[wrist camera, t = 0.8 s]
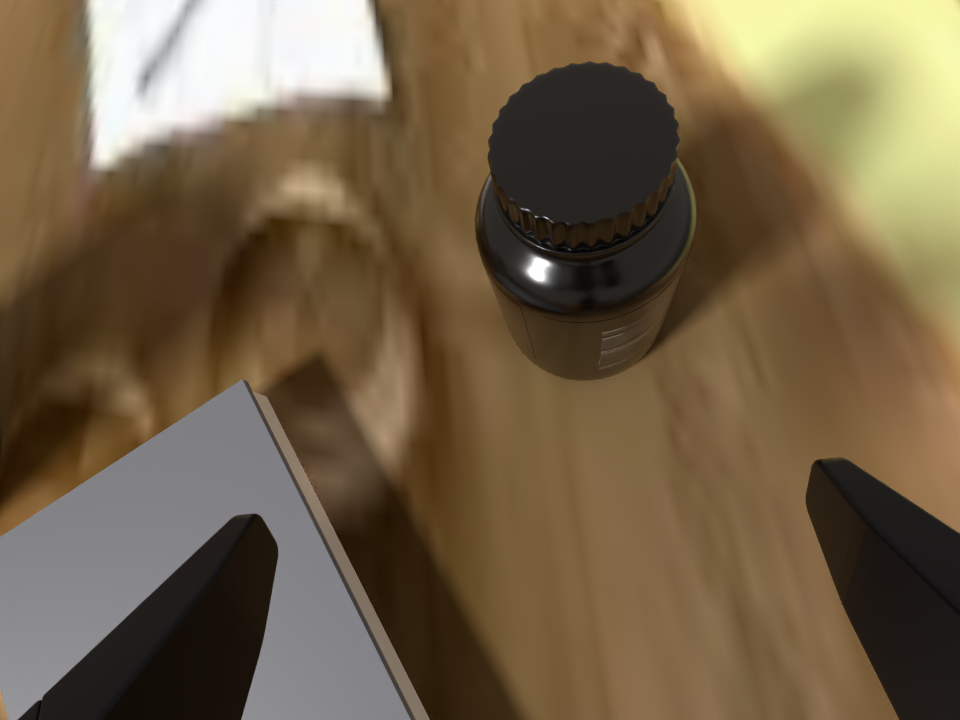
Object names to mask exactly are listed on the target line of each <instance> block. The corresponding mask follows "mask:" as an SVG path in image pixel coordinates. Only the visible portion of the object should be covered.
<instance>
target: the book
mask: <svg viewBox="0 0 960 720" xmlns="http://www.w3.org/2000/svg"><path fill="white" fill-rule="evenodd" d="M253 513H255V514H258V515H260V516H261V517H262V518H263V520H264V521H265V523H266V525H267V527H268V528H269V530H270V532H271V533H272V535H273V537H274V539H275V540H276V542H277V545H278V561H277V567H276V572H275V578H274V584H273V590H272V595H271V601H270V607H269V612H268V618H267V624H266V629H265V634H264V639H263V644H262V647H261V651H260V655H259V659H258V662H257V666H256V670H255V673H254V677H253V680H252V684H251V687H250V691H249V694H248V698H247V701H246V705H245V708H244V712H243V716H242V719H241V720H430V719H429V717H428V715H427V713H426V711H425V709H424V707H423V705H422V703H421V701H420V699H419V697H418V695H417V693H416V691H415V689H414V687H413V685H412V683H411V681H410V679H409V677H408V675H407V673H406V671H405V669H404V668H403V666H402V664H401V662H400V660H399V658H398V656H397V654H396V652H395V650H394V648H393V646H392V644H391V642H390V640H389V638H388V636H387V634H386V632H385V630H384V628H383V626H382V624H381V622H380V620H379V618H378V616H377V614H376V612H375V610H374V608H373V606H372V604H371V602H370V600H369V598H368V596H367V594H366V592H365V590H364V588H363V586H362V584H361V582H360V580H359V578H358V576H357V574H356V572H355V570H354V568H353V566H352V565H351V563H350V561H349V559H348V557H347V555H346V553H345V551H344V549H343V547H342V545H341V543H340V541H339V539H338V537H337V535H336V533H335V531H334V529H333V527H332V525H331V523H330V521H329V519H328V517H327V515H326V513H325V511H324V509H323V507H322V505H321V503H320V501H319V499H318V497H317V495H316V493H315V491H314V489H313V487H312V485H311V483H310V481H309V479H308V477H307V475H306V473H305V471H304V469H303V467H302V465H301V463H300V461H299V460H298V458H297V456H296V454H295V452H294V450H293V448H292V446H291V444H290V442H289V440H288V438H287V436H286V434H285V432H284V430H283V428H282V426H281V424H280V422H279V420H278V418H277V416H276V414H275V412H274V410H273V408H272V406H271V404H270V402H269V400H268V398H267V397H266V396H263V395H261V394H258V393H256V392H253V391H252V390H251V388H250V386H249V384H248V382H247V381H245V380H243V379H242V380H241V381H239V382H238V383H236V384H234V385H233V386H231V387H230V388H228V389H227V390H225V391H224V392H222V393H221V394H219V395H218V396H216V397H215V398H213V399H211V400H210V401H208V402H207V403H205V404H204V405H202V406H201V407H199V408H198V409H196V410H195V411H193V412H191V413H190V414H188V415H187V416H185V417H184V418H182V419H181V420H179V421H178V422H176V423H175V424H173V425H172V426H170V427H168V428H167V429H165V430H164V431H162V432H161V433H159V434H158V435H156V436H155V437H153V438H152V439H150V440H148V441H147V442H145V443H144V444H142V445H141V446H139V447H138V448H136V449H135V450H133V451H132V452H130V453H129V454H127V455H125V456H124V457H122V458H121V459H119V460H118V461H116V462H115V463H113V464H112V465H110V466H109V467H107V468H106V469H104V470H102V471H101V472H99V473H98V474H96V475H95V476H93V477H92V478H90V479H89V480H87V481H86V482H84V483H82V484H81V485H79V486H78V487H76V488H75V489H73V490H72V491H70V492H69V493H67V494H66V495H64V496H63V497H61V498H59V499H58V500H56V501H55V502H53V503H52V504H50V505H49V506H47V507H46V508H44V509H43V510H41V511H39V512H38V513H36V514H35V515H33V516H32V517H30V518H29V519H27V520H26V521H24V522H23V523H21V524H20V525H18V526H16V527H15V528H13V529H12V530H10V531H9V532H7V533H6V534H4V535H3V536H1V537H0V690H1V693H2V697H3V700H4V704H5V708H6V711H7V715H8V718H9V720H18V719H19V718H20V717H21V716H22V715H23V714H24V713H25V712H26V711H27V710H28V709H29V708H30V707H31V706H32V705H33V704H35V703H36V702H37V701H38V700H42V697H43V695H44V694H45V693H46V692H47V691H48V690H50V689H51V688H52V687H53V686H54V685H55V684H56V683H57V682H58V681H59V680H60V679H61V678H62V677H63V676H64V675H65V674H67V673H68V672H69V671H70V670H71V669H72V668H73V667H74V666H75V665H76V664H77V663H78V662H79V661H80V660H81V659H82V658H84V657H85V656H86V655H87V654H88V653H89V652H90V651H91V650H92V649H93V648H94V647H95V646H96V645H97V644H98V643H99V642H100V641H102V640H103V639H104V638H105V637H106V636H107V635H108V634H109V633H110V632H111V631H112V630H113V629H114V628H115V627H116V626H117V625H119V624H120V623H121V622H122V621H123V620H124V619H125V618H126V617H127V616H128V615H129V614H130V613H131V612H132V611H133V610H134V609H135V608H137V607H138V606H139V605H140V604H141V603H142V602H143V601H144V600H145V599H146V598H147V597H148V596H149V595H150V594H151V593H152V592H154V591H155V590H156V589H157V588H158V587H159V586H160V585H161V584H162V583H163V582H164V581H165V580H166V579H167V578H168V577H169V576H170V575H172V574H173V573H174V572H175V571H176V570H177V569H178V568H179V567H180V566H181V565H182V564H183V563H184V562H185V561H186V560H187V559H188V558H190V557H191V556H192V555H193V554H194V553H195V552H196V551H197V550H198V549H199V548H200V547H201V546H202V545H203V544H204V543H205V542H207V541H208V540H209V539H210V538H211V537H212V536H213V535H214V534H215V533H216V532H217V531H218V530H219V529H220V528H221V527H222V526H223V525H225V524H226V523H227V522H228V521H229V520H230V519H231V518H232V517H234V516H237V515H243V514H253Z"/></svg>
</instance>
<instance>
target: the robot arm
mask: <svg viewBox="0 0 960 720" xmlns="http://www.w3.org/2000/svg"><path fill="white" fill-rule="evenodd" d="M806 506H807V510H808V514H809V516H810V519H811V522H812V524H813V527H814V530H815V533H816V535H817V538H818V541H819V543H820V546H821V549H822V552H823V554H824V557H825V560H826V562H827V565H828V568H829V571H830V573H831V576H832V579H833V581H834V584H835V587H836V590H837V592H838V595H839V597H840V600H841V602H842V605H843V607H844V609H845V611H846V613H847V616H848V618H849V620H850V622H851V624H852V626H853V628H854V630H855V632H856V634H857V636H858V638H859V640H860V642H861V644H862V646H863V648H864V650H865V652H866V654H867V656H868V658H869V660H870V662H871V664H872V666H873V668H874V670H875V672H876V674H877V676H878V678H879V680H880V682H881V684H882V686H883V688H884V690H885V692H886V694H887V696H888V698H889V700H890V702H891V704H892V706H893V708H894V710H895V712H896V714H897V716H898V718H899V720H960V533H959V532H957V531H956V530H954V529H953V528H951V527H950V526H948V525H946V524H945V523H943V522H942V521H940V520H939V519H937V518H936V517H934V516H933V515H931V514H930V513H928V512H927V511H925V510H924V509H922V508H921V507H919V506H918V505H916V504H915V503H913V502H912V501H910V500H909V499H907V498H906V497H904V496H903V495H901V494H899V493H898V492H896V491H895V490H893V489H892V488H890V487H889V486H887V485H886V484H884V483H883V482H881V481H880V480H878V479H877V478H875V477H874V476H872V475H871V474H869V473H868V472H866V471H865V470H863V469H862V468H860V467H859V466H857V465H856V464H854V463H852V462H851V461H849V460H847V459H845V458H840V457H839V458H828V459H818V460H816V461H815V462H814V463H813V464H812V467H811V472H810V477H809V482H808V487H807V492H806ZM277 561H278V545H277V542H276V540H275V539H274V537H273V535H272V533H271V532H270V530H269V528H268V527H267V525H266V523H265V521H264V520H263V518H262V517H261V516H260V515H258V514H255V513H253V514H243V515H237V516H234V517H232V518H231V519H230V520H229V521H228V522H227V523H226V524H225V525H223V526H222V527H221V528H220V529H219V530H218V531H217V532H216V533H215V534H214V535H213V536H212V537H211V538H210V539H209V540H208V541H207V542H205V543H204V544H203V545H202V546H201V547H200V548H199V549H198V550H197V551H196V552H195V553H194V554H193V555H192V556H191V557H190V558H188V559H187V560H186V561H185V562H184V563H183V564H182V565H181V566H180V567H179V568H178V569H177V570H176V571H175V572H174V573H173V574H172V575H170V576H169V577H168V578H167V579H166V580H165V581H164V582H163V583H162V584H161V585H160V586H159V587H158V588H157V589H156V590H155V591H154V592H152V593H151V594H150V595H149V596H148V597H147V598H146V599H145V600H144V601H143V602H142V603H141V604H140V605H139V606H138V607H137V608H135V609H134V610H133V611H132V612H131V613H130V614H129V615H128V616H127V617H126V618H125V619H124V620H123V621H122V622H121V623H120V624H119V625H117V626H116V627H115V628H114V629H113V630H112V631H111V632H110V633H109V634H108V635H107V636H106V637H105V638H104V639H103V640H102V641H100V642H99V643H98V644H97V645H96V646H95V647H94V648H93V649H92V650H91V651H90V652H89V653H88V654H87V655H86V656H85V657H84V658H82V659H81V660H80V661H79V662H78V663H77V664H76V665H75V666H74V667H73V668H72V669H71V670H70V671H69V672H68V673H67V674H65V675H64V676H63V677H62V678H61V679H60V680H59V681H58V682H57V683H56V684H55V685H54V686H53V687H52V688H51V689H50V690H48V691H47V692H46V693H45V694H44V695H43V697H42V700H38V701H37V702H36V703H35V704H33V705H32V706H31V707H30V708H29V709H28V710H27V711H26V712H25V713H24V714H23V715H22V716H21V717H20V718H19V719H18V720H241V719H242V716H243V712H244V708H245V705H246V701H247V698H248V694H249V691H250V687H251V684H252V680H253V677H254V673H255V670H256V666H257V662H258V659H259V655H260V651H261V647H262V644H263V639H264V634H265V629H266V624H267V618H268V612H269V607H270V601H271V595H272V590H273V584H274V578H275V572H276V567H277Z"/></svg>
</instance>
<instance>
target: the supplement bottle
mask: <svg viewBox="0 0 960 720" xmlns="http://www.w3.org/2000/svg"><path fill="white" fill-rule="evenodd" d="M492 131H493V132H492V134H491V136H490V138H489V140H488V144H489V149H490V150H489V153H488V163H489V166H490V170H491V172H490V173H489V175H488V177H487V179H486V181H485V183H484V185H483V187H482V190H481V192H480V196H479V199H478V203H477V208H476V216H475V233H476V241H477V245H478V249H479V253H480V256H481V259H482V262H483V265H484V268H485V270H486V273H487V275H488V278H489V280H490V283H491V285H492V288H493V290H494V293H495V295H496V298H497V300H498V303H499V305H500V308H501V310H502V313H503V315H504V318H505V320H506V323H507V325H508V328H509V330H510V332H511V334H512V336H513V338H514V340H515V342H516V344H517V345H518V347H519V348H520V349H521V351H522V352H523V353H524V354H525V356H526V357H527V358H528V359H529V360H531V361H532V362H533V363H534V364H535V365H537V366H538V367H540V368H541V369H543V370H545V371H547V372H549V373H551V374H553V375H556V376H559V377H562V378H566V379H572V380H596V379H602V378H606V377H610V376H612V375H615V374H618V373H620V372H622V371H624V370H626V369H627V368H629V367H631V366H632V365H633V364H635V363H636V362H637V361H638V360H640V359H641V358H642V357H643V356H644V355H645V354H646V353H647V351H648V350H649V349H650V347H651V346H652V345H653V343H654V342H655V340H656V338H657V336H658V334H659V332H660V330H661V328H662V325H663V323H664V321H665V318H666V315H667V313H668V310H669V307H670V305H671V302H672V299H673V297H674V294H675V291H676V289H677V286H678V283H679V281H680V278H681V275H682V273H683V270H684V267H685V265H686V262H687V259H688V256H689V254H690V251H691V248H692V245H693V240H694V236H695V231H696V225H697V204H696V197H695V193H694V189H693V185H692V183H691V180H690V178H689V175H688V174H687V172H686V170H685V168H684V166H683V165H682V163H681V162H680V160H679V159H678V153H679V149H680V139H679V136H678V133H679V123H678V122H677V120H676V119H675V118H674V108H673V107H672V106H671V105H670V104H669V103H667V97H666V95H665V94H664V93H662V92H660V91H659V90H658V89H657V87H656V85H655V83H653V82H651V81H648V80H645V79H644V77H643V76H642V75H641V74H640V73H636V72H631V71H629V70H628V69H627V68H626V67H622V66H613V65H612V64H610V63H599V64H597V63H594V62H590V61H589V62H585V63H583V64H572V63H571V64H569V65H567V66H565V67H563V68H553V69H552V70H550V71H549V72H548V73H545V74H541V75H537V76H536V77H535V78H534V79H533V80H532V81H531V82H528V83H526V84H523V85H522V86H521V88H520V90H519V91H518V92H516V93H515V94H513V95H511V96H510V97H509V99H508V102H507V104H506V105H505V106H503V107H502V108H501V109H500V111H499V117H498V118H497V119H496V121H495V122H494V123H493V124H492Z"/></svg>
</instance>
